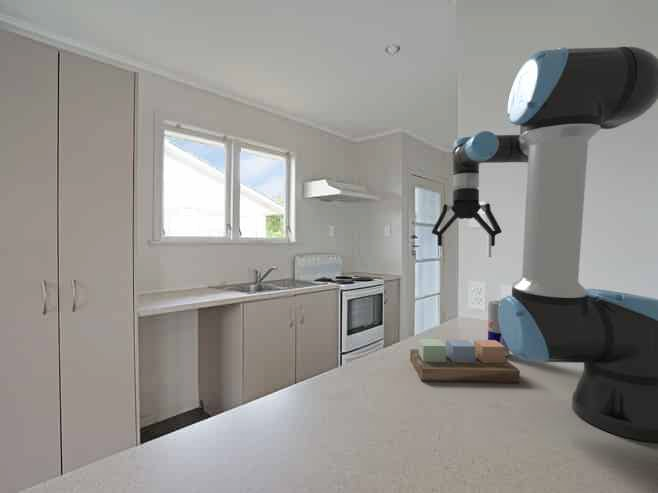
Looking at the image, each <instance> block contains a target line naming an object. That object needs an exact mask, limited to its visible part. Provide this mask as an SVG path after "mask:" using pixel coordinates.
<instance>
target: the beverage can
mask: <svg viewBox="0 0 658 493" xmlns="http://www.w3.org/2000/svg"><path fill="white" fill-rule="evenodd" d="M500 301H501V300H489V301H488V303H487V304H488V305H487V306H488V307H487V313H488V314H487V315H488V316H487V340H496V341H497V342H499V343H500V344H502V345H503V346H505V357H509V356H510V353H511V351H510V350H509V348H508V347H507V345H506V343H505V341H504V338H503V336H502V333H501V330H500V326H499V320H498V307H499V304H500Z"/></svg>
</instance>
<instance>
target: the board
mask: <svg viewBox="0 0 658 493" xmlns="http://www.w3.org/2000/svg"><path fill="white" fill-rule="evenodd" d="M409 357H410V359H409V360H410V362H411V364H412V366H413V368H414V369H415V371H416V374H417V376H418V377H419V379H420V381H421V382H424V383H425V382H427V383H431V382H433V383H475V384H476V383H477V384H478V383H481V384H485V383H486V384H488V383H489V384H520V382H521V380H520V379H521V378H520V377H521V376H520V372H521V371H520V369H518V368H517V367H516V366H515V365H513V364H512V363H511V362H509V361H508V360H506V359H505V363H482V362H480V361H479V360H478V359H477V358H476V357H475V363H453V362H452V361H451V360H450V359H449V358H448V357H447V355H446V362H423V361H422V359H421V358H420V356H419V348H418V349H416V348H410V356H409Z"/></svg>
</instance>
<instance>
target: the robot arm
mask: <svg viewBox="0 0 658 493" xmlns="http://www.w3.org/2000/svg"><path fill="white" fill-rule="evenodd" d="M657 100H658V57H657V56H656V55H655V54H653V53H652V52H650V51H648V50H646V49H643V48H640V47H635V46H618V47H585V48H584V47H582V48H581V47H580V48H579V47H577V48H575V47H574V48H567V47H559V48H556V49H544V50H539V51H537V52H535V53H533V54H532V55H531V56H529V58H527V59H526V61H525V62H524V63H523V65H522V66H521V68H520V69H519V70H518V73H517V75H516V77H515V79H514V81H513V83H512V86H511V90H510V92H509V96H508V102H507V117H508V121H509V122H510V124H512V125H515V126H517V127H519V126H520V131H519V132H520V133H519V134H495V133H493V132H491V131H488V130H484V131H479V132H477V133H476V134H474V135H472V136H465V137H460V138H457V139H455V141H454V142H453V149H452V158H453V159H452V163H453V164H452V167H453V168H452V169H453V170H452V172H453V173H452V174H453V176H452V177H453V179H452V180H453V181H452V189H454V190H453V191H452V205H448V204H443V205H442V209H441V213H440V214H439V217H438V219H437V221H436V222H435V224H434V227H433V228H432V230H431V233H432V234H433V235H435V236H437V246H438V247H441V248H440V250H441V251H440V256H441V257H445V255H446V254H445V251H446V250H445V249H446V248H445V244H446V242H445V235H443V234H444V233H445V232H446V231H447V230H448V229H449V227H451V225H452V224H454V223H455V221H456V219H457V220H458V219H461V220H464V219H469V220H472V219H474V220H475V221H476V222H477V223H478V224H479V225H480V226H481V227H482V228H483V230H484V231H486V233H487V234H488V235H486V257H487V258H492V247H495V245H496V241H495V240H496V235H499V234H502V229H501V227H500V225H499V223H498V222H497V220H496V218H495V216H494V214H493V212H492V209H491V204H490V203H489V202H488V203H485V204H480V199H479V198H480V191H479V189H478V188H479V187H480V186H479V185H480V180H479V179H480V177H479V176H480V164H489V163H491V164H492V163H493V164H494V163H498V164H499V163H527V177H526V195H525V196H526V198H525V211H524V212H525V213H524V214H525V215H524V230H523V231H524V233H523V234H524V235H523V251H522V254H523V255H522V269H521V270H522V271H521V276H520V278H519V279H517V280H516V281H515V282H514V283H512V285H511V286H512V287H511V295H506V296H504V297H502V298H501V299H500V300H499V301H500V304H499V307H498V320H499V326H500V330H501V333H502V336H503V338H504V341H505V343H506V345H507V347H508V348H509V350H510V353H512V355H514V356H515V357H516V358H517V359H519V360H521V361H526V362H534V363H535V362H537V363H541V364H547V363H575V364H578V363H580V364H581V363H583V370H582V372H581V375H580V377H579V380H578V381H577V384H576V387H575V390H574V391H573V393H572V397H571V398H572V399H571V408H572V410H573V412H574V413H575V414H576V415H577V416H578V417H579V418H581V419H582V420H583V421H585V422H587V423H589V424H590V425H592V426H594V427H596V428H599V429H601V430H604V431H607V432H609V433H612V434H615V435H617V436H621V437H625V438H628V439H633V440H638V441H643V442H650V443H651V442H652V443H658V299H657V298H655V297H654V298H653V297H650V296H643V295H638V294H632V293H626V292H620V291H613V290H606V289H600V288H599V289H598V288H585V287H584V286H583V285H582V284H581V283H580V282H579V277H580V276H579V272H580V261H581V259H580V258H581V249H582V248H581V246H582V235H583V234H582V230H583V221H584V220H583V218H584V214H583V213H584V206H585V204H584V203H585V190H586V176H587V164H588V149H589V148H588V147H589V141H590V140H591V139H592V138H593V137H594V136H595V135H596V134H597V133H598V132H599V131H601V130H610V129H611V130H612V129H615V128H618V127H620V126H622V125H623V126H624V125H625V124H628V123H630V122H631V121H634V120H636V119H637V118H639V117H641V116H642V115H644V114H645V113H646V112H647V111H649V110H650V109H651V108H652V107H653V106H654V104H655V103H656V102H657ZM450 210H451V211H452V212H453V216H451V218H450V219H449V220H448V221H447V222H446V223H445V225H443V226H442V228H441V229H440V230H439V228H440V226H441V224H442V222H443V221H444V218H445V217H446V215H447V213H448V212H450ZM480 210H482V211H483V212H484V213H485V216H486V217H487V219H488V220H489V223H490V224H491V226H492V227H491V226H490V225H489V224H488V223H487V222H486V220H484V219H483V218H482V216H481V215H480V214H479V211H480ZM438 230H439V231H438Z"/></svg>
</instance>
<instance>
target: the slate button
mask: <svg viewBox="0 0 658 493" xmlns="http://www.w3.org/2000/svg"><path fill="white" fill-rule="evenodd" d="M445 345H446V355H447V357H448V358H449V359H450V360H451V361H452V362H453V363H475V351H476V346H474V343H472V342H471V341H469V339H446V340H445Z"/></svg>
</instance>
